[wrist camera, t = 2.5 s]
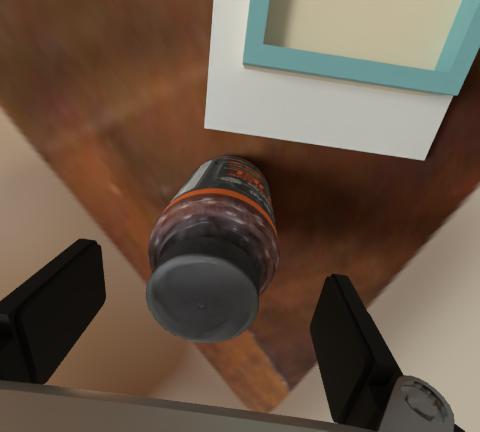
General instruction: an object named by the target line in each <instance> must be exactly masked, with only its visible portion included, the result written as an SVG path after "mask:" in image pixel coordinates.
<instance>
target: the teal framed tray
mask: <svg viewBox="0 0 480 432" xmlns="http://www.w3.org/2000/svg"><path fill="white" fill-rule="evenodd" d="M479 47H480V0H214V3H213V16H212V30H211V44H210V58H209V71H208V85H207V99H206V113H205V127H204V128H208V129H215V130H221V131H228V132H235V133H242V134H248V135H255V136H262V137H269V138H275V139H282V140H289V141H296V142H303V143H309V144H316V145H323V146H330V147H336V148H343V149H350V150H357V151H363V152H370V153H377V154H384V155H391V156H397V157H404V158H411V159H418V160H425V158H426V155H427V153H428V151H429V149H430V146H431V144H432V142H433V140H434V138H435V135H436V133H437V131H438V129H439V126H440V124H441V122H442V120H443V118H444V115H445V113H446V111H447V109H448V106H449V104H450V102H451V100H452V97H453V95H458V94H459V91H460V89H461V87H462V85H463V83H464V80H465V78H466V76H467V74H468V72H469V69H470V67H471V65H472V63H473V61H474V58H475V56H476V54H477V52H478V50H479Z"/></svg>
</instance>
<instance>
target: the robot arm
mask: <svg viewBox="0 0 480 432" xmlns="http://www.w3.org/2000/svg"><path fill="white" fill-rule="evenodd" d="M105 299H106V292H105V281H104V271H103V261H102V251H101V246H100V245H98V244H97V242H96V241H95V240H88V239H78V240H77V241H76V242H75V243H73V244H72V245H71V246H69V247H68V248H67V249H66V250H64V251H63V252H62V253H60V254H59V255H58V256H57V257H55V258H54V259H53V260H52V261H50V262H49V263H48V264H47V265H45V266H44V267H43V268H42V269H40V270H39V271H38V272H37V273H35V274H34V275H33V276H31V277H30V278H29V279H28V280H26V281H25V282H24V283H23V284H21V285H20V286H19V287H18V288H16V289H15V290H14V291H13V292H11V293H10V294H9V295H8V296H6V297H5V298H4V299H2V300H1V301H0V432H465V431H464V430H462V429H461V428H460V427H458V426H457V425H456V424H454V414H453V412H452V410H451V407H450V405H449V404H448V403H447V401H446V400H445V399H444V397H443V396H442V395H441V394H440V393H439V392H438V391H437V390H436V389H435V388H433V387H432V386H431V385H429V384H428V383H427V382H424V381H423V380H421V379H419V378H416V377H413V376H405V375H403V373H402V372H401V370H400V368H399V366H398V364H397V363H396V361H395V359H394V357H393V356H392V354H391V352H390V350H389V348H388V346H387V345H386V343H385V341H384V339H383V337H382V335H381V334H380V332H379V330H378V328H377V327H376V325H375V323H374V321H373V320H372V317H371V316H370V314H369V313H368V312H367V310H366V308H365V306H364V305H363V303H362V301H361V299H360V297H359V296H358V294H357V292H356V290H355V288H354V286H353V285H352V283H351V281H350V279H349V277H348V276H346V275H339V274H332V275H331V276H330V277H327V278H326V280H325V283H324V286H323V289H322V292H321V295H320V298H319V301H318V304H317V306H316V309H315V312H314V315H313V318H312V321H311V325H310V333H311V337H312V341H313V345H314V349H315V353H316V357H317V361H318V365H319V369H320V373H321V377H322V381H323V385H324V389H325V392H326V397H327V400H328V404H329V408H330V412H331V416H332V419H333V421H334V422H335V423H330V422H324V421H317V420H310V419H304V418H298V417H290V416H282V415H275V414H268V413H261V412H253V411H246V410H239V409H231V408H224V407H216V406H208V405H201V404H193V403H186V402H178V401H170V400H163V399H154V398H147V397H139V396H131V395H123V394H115V393H107V392H99V391H91V390H82V389H74V388H66V387H59V386H51V385H43V384H45V383H46V382H47V381H48V380H49V378H50V377H51V376H52V374H53V373H54V372H55V370H56V369H57V367H58V366H59V365H60V363H61V362H62V361H63V359H64V358H65V357H66V355H67V354H68V352H69V351H70V350H71V348H72V347H73V346H74V344H75V343H76V341H77V340H78V339H79V337H80V336H81V334H82V333H83V332H84V331H85V329H86V328H87V326H88V325H89V324H90V322H91V321H92V319H93V318H94V317H95V316H96V314H97V313H98V311H99V310H100V309H101V307H102V306H103V304H104V302H105ZM337 423H338V424H337Z"/></svg>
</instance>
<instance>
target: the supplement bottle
mask: <svg viewBox="0 0 480 432" xmlns="http://www.w3.org/2000/svg"><path fill="white" fill-rule="evenodd" d="M279 258H280V252H279V243H278V236H277V230H276V224H275V218H274V213H273V207H272V200H271V194H270V190H269V185H268V183H267V181H266V179H265V177H264V175H263V174H262V172H261V171H260V170H259V169H258V168H257V167H256V166H255V165H254V164H253V163H251V162H249V161H248V160H245V159H243V158H240V157H236V156H227V155H224V156H218V157H215V158H212V159H210V160H208V161H206V162H205V163H203V164H202V165H201V166H200V167H199V168H198V169H197V170H196V171H195V172H194V173H193V175H192V176H191V177H190V178H189V180H188V181H187V182H186V184H185V185H184V186H183V187H182V189H181V190H180V191H179V192H178V194H177V195H176V196H175V197H174V199H173V200H172V201H171V203H170V204H169V205H168V206H167V208H166V209H165V210H164V212H163V213H162V214H161V216H160V217H159V218H158V220H157V221H156V223H155V225H154V227H153V229H152V232H151V235H150V238H149V244H148V260H149V264H150V268H151V270H152V272H153V273H152V274H151V277H150V279H149V281H148V284H147V288H146V300H147V304H148V308H149V310H150V311H151V313H152V315H153V317H154V318H155V320H157V322H158V323H159V324H160V325H161V326H162V327H163V328H164V329H165V330H167V331H168V332H170V333H172V334H173V335H175V336H179V337H181V338H183V339H185V340H190V341H194V342H200V343H205V342H206V343H213V342H221V341H225V340H229V339H231V338H233V337H236V336H238V335H240V334H241V333H242V332H244V331H245V330H246V329H247V328H248V327H249V326H250V325H251V324H252V322H253V321H254V319H255V317H256V315H257V312H258V307H259V297H260V296H261V295H262V294H263V293H264V292H265V291H266V290H267V288H268V287H269V286H270V284H271V283H272V281H273V279H274V277H275V275H276V272H277V269H278V264H279Z"/></svg>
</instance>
